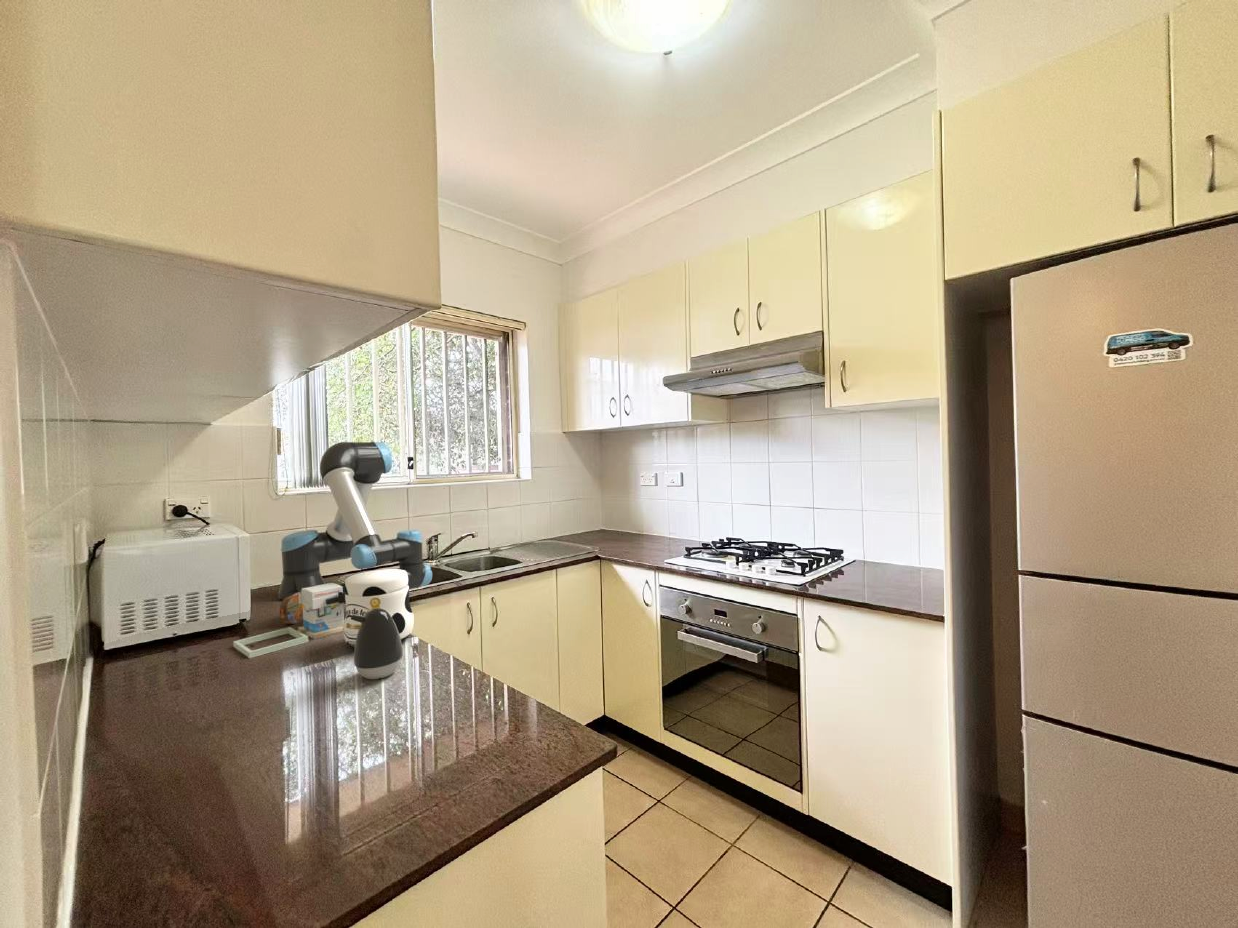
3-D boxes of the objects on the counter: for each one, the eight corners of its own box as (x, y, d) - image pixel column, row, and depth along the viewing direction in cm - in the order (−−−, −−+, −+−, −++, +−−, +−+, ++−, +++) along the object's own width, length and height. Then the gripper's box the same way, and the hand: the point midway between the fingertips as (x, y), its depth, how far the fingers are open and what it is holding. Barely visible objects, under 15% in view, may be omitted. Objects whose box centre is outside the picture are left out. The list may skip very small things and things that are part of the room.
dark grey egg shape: (357, 669, 120) (354, 605, 120) (405, 662, 124) (402, 600, 123) (349, 688, 111) (346, 618, 110) (401, 679, 114) (398, 612, 114)
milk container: (335, 658, 128) (331, 586, 128) (353, 634, 145) (350, 571, 145) (409, 649, 132) (405, 580, 132) (418, 627, 149) (415, 566, 149)
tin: (288, 627, 153) (287, 599, 153) (278, 627, 154) (276, 600, 153) (318, 611, 168) (317, 586, 168) (309, 612, 169) (308, 586, 168)
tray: (233, 646, 139) (233, 641, 139) (290, 632, 149) (290, 626, 149) (249, 658, 130) (249, 652, 130) (308, 641, 141) (308, 636, 140)
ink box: (313, 633, 144) (310, 592, 144) (303, 627, 150) (300, 588, 149) (345, 624, 150) (343, 585, 150) (334, 619, 156) (332, 581, 156)
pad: (297, 630, 150) (297, 627, 150) (334, 621, 158) (333, 618, 158) (314, 639, 142) (313, 635, 142) (351, 628, 150) (351, 625, 150)
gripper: (401, 600, 157) (321, 621, 139) (368, 590, 171) (292, 608, 153) (400, 576, 157) (320, 594, 139) (367, 568, 170) (291, 583, 153)
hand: (305, 601), depth 146 cm, fingers open, 9 cm apart
